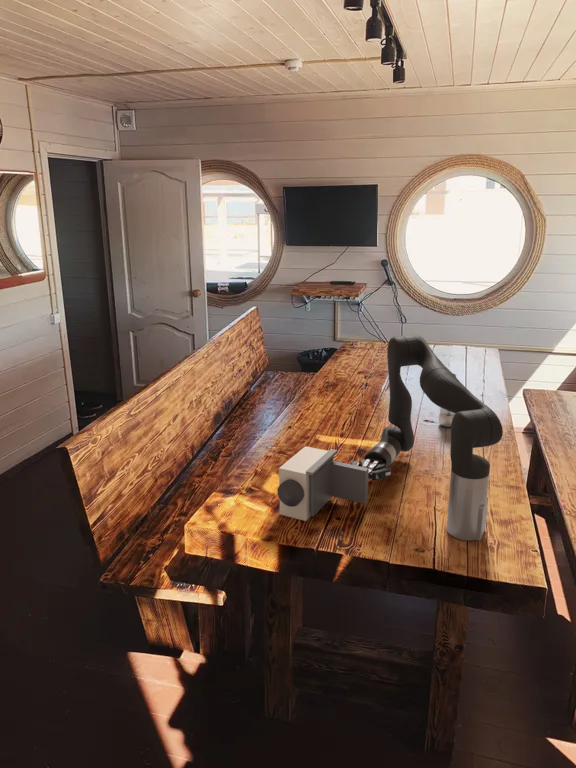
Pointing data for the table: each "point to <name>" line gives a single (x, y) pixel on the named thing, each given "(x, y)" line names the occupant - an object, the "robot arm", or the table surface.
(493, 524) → the table surface
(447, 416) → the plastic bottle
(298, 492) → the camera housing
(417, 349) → the robot arm
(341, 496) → the side door
